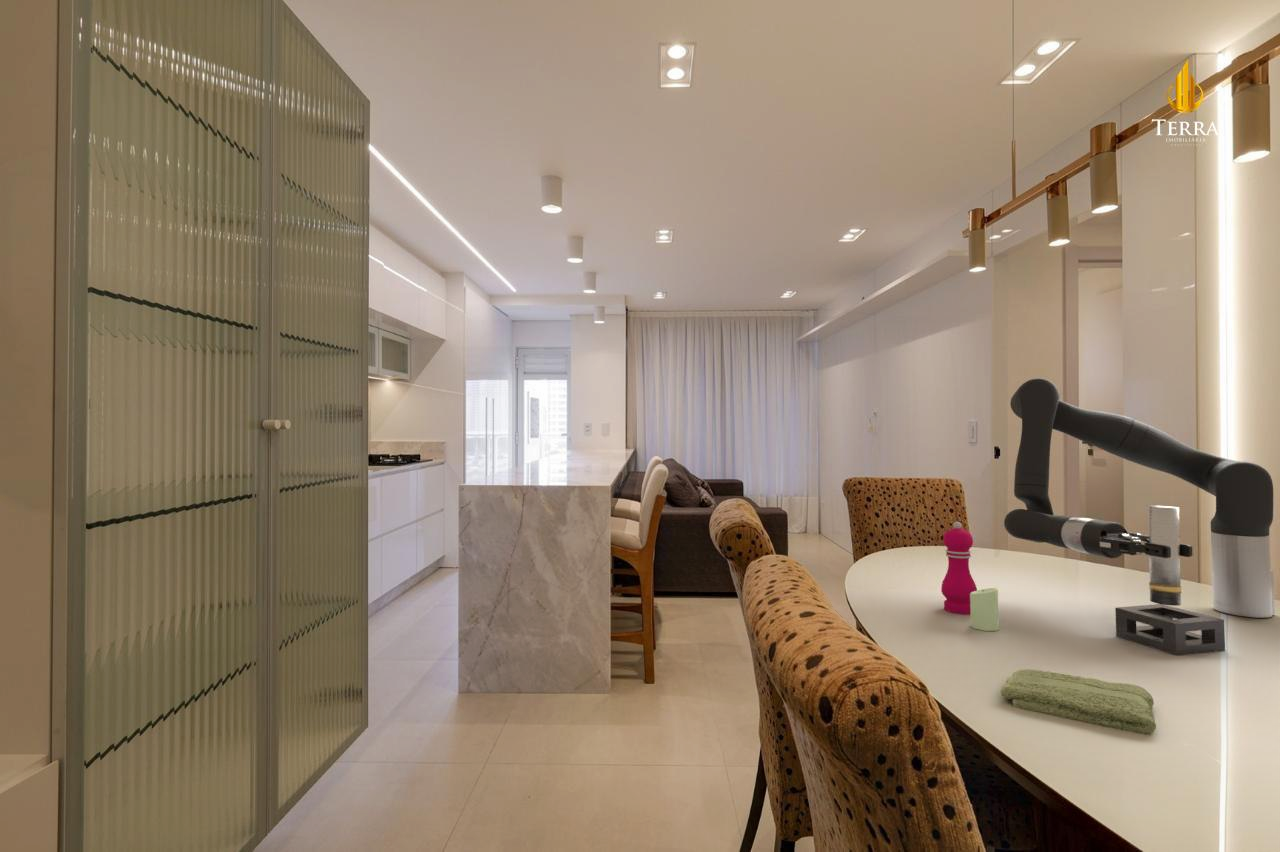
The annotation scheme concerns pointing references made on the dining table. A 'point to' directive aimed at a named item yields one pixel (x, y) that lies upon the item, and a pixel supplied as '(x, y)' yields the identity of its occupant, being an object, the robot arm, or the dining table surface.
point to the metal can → (1165, 569)
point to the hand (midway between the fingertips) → (1179, 551)
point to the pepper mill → (958, 570)
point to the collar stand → (1170, 629)
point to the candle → (984, 609)
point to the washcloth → (1082, 699)
